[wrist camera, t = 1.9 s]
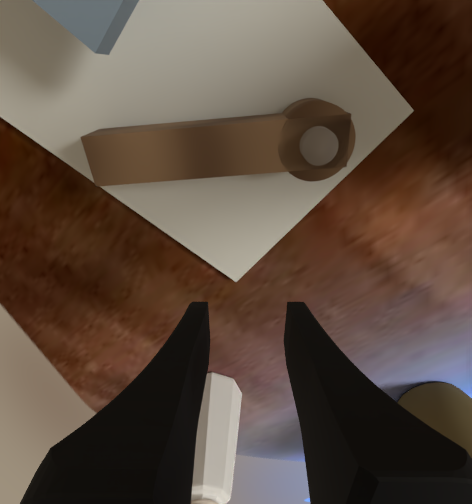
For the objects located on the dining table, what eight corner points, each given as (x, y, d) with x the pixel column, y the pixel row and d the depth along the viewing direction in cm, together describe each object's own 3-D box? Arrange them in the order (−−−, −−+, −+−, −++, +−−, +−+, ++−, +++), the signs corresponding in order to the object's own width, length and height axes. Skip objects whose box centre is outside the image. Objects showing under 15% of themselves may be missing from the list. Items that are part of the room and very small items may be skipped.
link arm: (343, 94, 16) (365, 100, 13) (338, 165, 18) (356, 183, 15) (96, 116, 17) (68, 126, 14) (114, 183, 18) (92, 203, 16)
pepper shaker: (170, 390, 29) (136, 547, 20) (211, 362, 27) (197, 520, 18) (212, 417, 31) (201, 571, 21) (254, 392, 29) (262, 549, 20)
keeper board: (408, 109, 17) (475, 124, 12) (236, 277, 23) (235, 333, 18) (66, -301, 11) (-70, -593, 6) (-59, 69, 17) (-182, 68, 12)
